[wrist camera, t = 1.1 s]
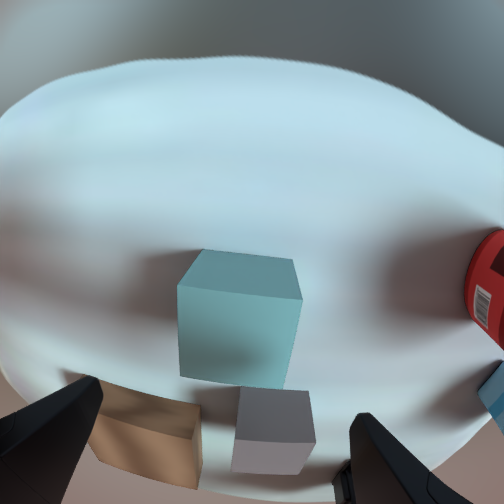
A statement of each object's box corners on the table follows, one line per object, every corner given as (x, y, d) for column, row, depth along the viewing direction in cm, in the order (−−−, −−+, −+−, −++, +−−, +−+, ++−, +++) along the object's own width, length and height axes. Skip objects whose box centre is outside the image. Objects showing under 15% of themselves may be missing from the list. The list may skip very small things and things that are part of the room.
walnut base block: (201, 402, 20) (191, 439, 16) (203, 461, 23) (197, 489, 19) (85, 371, 20) (65, 399, 16) (111, 436, 23) (99, 460, 19)
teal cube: (292, 259, 15) (302, 300, 11) (279, 333, 17) (282, 389, 12) (203, 248, 16) (177, 285, 11) (200, 324, 17) (180, 376, 12)
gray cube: (308, 390, 18) (316, 442, 14) (294, 427, 20) (298, 474, 15) (240, 385, 19) (234, 439, 14) (236, 423, 20) (230, 471, 15)
